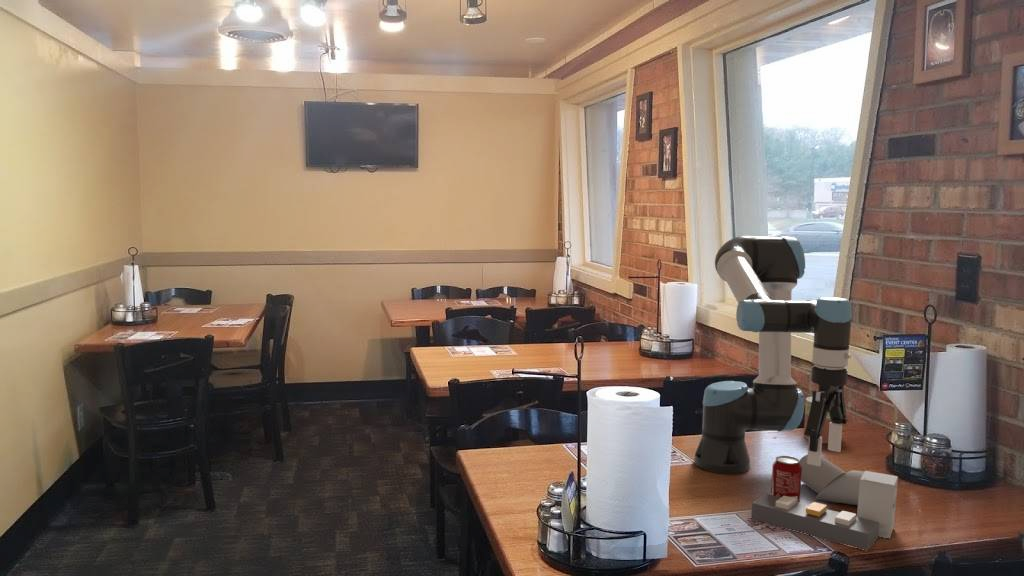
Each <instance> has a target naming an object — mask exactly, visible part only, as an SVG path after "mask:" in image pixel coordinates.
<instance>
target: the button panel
mask: <svg viewBox="0 0 1024 576" xmlns="http://www.w3.org/2000/svg"><path fill="white" fill-rule="evenodd" d="M809 505H810V504H808V503H804V502H801V501H800V502H797V501H796V499H795V498H792V497H788V496H783V497H778V496H774V495H771V493H764V494H762V495H761V496H759V498H757V499H756V500H753V502H751V518H750V519H751V520H752V519H753V521H756V520H757V522H759V521H760V523H763V522H764V523H763V524H767V523H768V524H767V525H770V524H771V526H774V525H775V526H774V527H777V526H779V527H778V528H781V527H783V528H782V529H784V528H787V529H786V530H788V529H791V530H790V531H792V530H795V531H798V532H797V533H799V532H802V533H806V534H809V535H812V536H811V537H813V536H815V537H814V538H816V537H818V538H817V539H820V538H822V539H821V540H824V539H826V540H825V541H827V540H829V541H828V542H831V541H833V542H832V543H834V542H837V543H836V544H838V543H842V544H846V545H850V546H853V547H857V548H860V549H864V550H868V549H869V548H870V547H871V546H872V545H873V544H874V545H875V543H876V542H877V541H878V540H879V537H878V531H879V522H875V521H871V520H867V519H863V518H859V517H857V513H854V512H850V511H845V510H841V511H840V512H839V511H835V510H831V509H828V508H827V510H826V511H825V512H824V513H823V514H822V515H820V516H819V517H818V516H814V515H810V514H807V513H806V508H807V507H808V506H809ZM795 531H794V532H795ZM802 533H801V534H802ZM806 534H805V535H806ZM809 535H808V536H809ZM877 539H878V540H877ZM876 540H877V541H876ZM875 541H876V542H875ZM874 542H875V543H874ZM874 545H873V546H874ZM873 546H872V547H873ZM872 547H871V548H872ZM871 548H870V549H871ZM870 549H869V550H870ZM869 550H868V551H869Z"/></svg>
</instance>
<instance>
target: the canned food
mask: <svg viewBox="0 0 1024 576" xmlns="http://www.w3.org/2000/svg"><path fill="white" fill-rule="evenodd" d="M811 403H812V396H808V397H806V398H805V406H804V426H803V434H802V435H803V438H804V439H806V440H807V441H808V440H809V436H807V435H805V434H804V432H805V430H806V426H807V421H808V417H809V412H810V408H811ZM830 422H832V421H831V418H830V414H829V412H828V413H827V416H826V420H825V423H824V426H823V429H822V433H821V436H820V437H822V444H828V438H829V423H830ZM832 423H833V422H832ZM841 424H842V423H841ZM842 425H843V424H842ZM813 431H815V430H813ZM842 439H843V438H841V442H842V441H843V440H842Z"/></svg>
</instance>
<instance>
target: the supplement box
mask: <svg viewBox="0 0 1024 576" xmlns="http://www.w3.org/2000/svg"><path fill="white" fill-rule="evenodd" d="M863 472H864V473H863V475H862V477H861V479H860V484H859V497H858V506H857V509H856V510H857V511H856V512H857V513H856V517H859V518H863V519H867V520H871V521H875V522H879V531H878V536H879V537H878V538H881V537H883V538H882V539H886V538H889V539H888V540H890V539H891V537H892V533H893V530H894V527H895V519H896V518H895V517H896V507H897V493H898V481H899V480H898V479H899V476H897V475H893V474H886V473H881V472H875V471H870V470H864V471H863Z"/></svg>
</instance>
